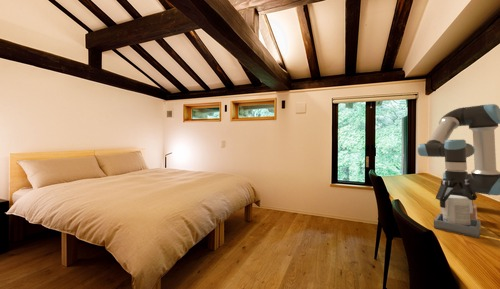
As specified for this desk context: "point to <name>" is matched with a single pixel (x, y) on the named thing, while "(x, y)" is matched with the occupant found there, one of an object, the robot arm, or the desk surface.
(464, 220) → the supplement tub
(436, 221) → the gray tray
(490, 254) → the desk surface
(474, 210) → the terracotta bin
